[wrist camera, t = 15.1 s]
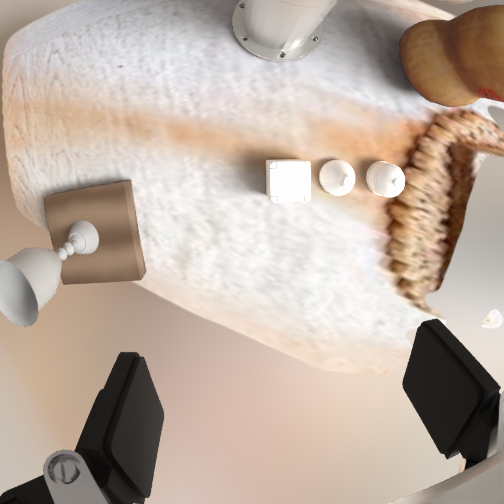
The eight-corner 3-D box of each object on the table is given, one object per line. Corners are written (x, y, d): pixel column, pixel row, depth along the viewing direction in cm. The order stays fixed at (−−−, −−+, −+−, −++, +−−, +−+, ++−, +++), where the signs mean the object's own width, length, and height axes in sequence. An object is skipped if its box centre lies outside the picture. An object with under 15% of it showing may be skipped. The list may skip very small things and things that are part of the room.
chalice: (57, 226, 38) (-21, 275, 21) (89, 204, 37) (10, 247, 20) (80, 268, 40) (16, 334, 24) (113, 249, 40) (50, 315, 23)
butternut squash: (387, 100, 37) (514, 82, 14) (382, 23, 33) (485, -38, 9) (454, 116, 38) (574, 123, 15) (449, 45, 34) (557, 20, 10)
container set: (266, 196, 42) (270, 203, 37) (265, 158, 40) (269, 160, 35) (394, 195, 43) (412, 202, 38) (395, 161, 41) (414, 165, 36)
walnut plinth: (53, 194, 39) (43, 197, 36) (131, 179, 40) (123, 182, 37) (71, 276, 44) (63, 284, 41) (146, 271, 44) (141, 280, 42)
